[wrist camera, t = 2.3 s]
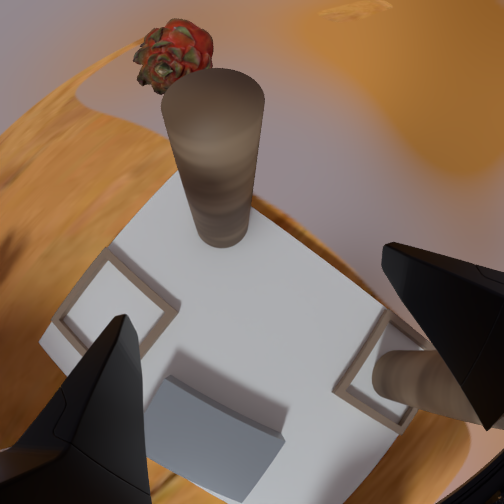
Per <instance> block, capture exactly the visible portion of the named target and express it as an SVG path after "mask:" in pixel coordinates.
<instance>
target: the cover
mask: <svg viewBox="0 0 504 504" xmlns="http://www.w3.org/2000/svg"><path fill="white" fill-rule="evenodd" d="M144 431H145V446H146V457H148V458H150V459H151V460H153V461H155V462H156V463H158V464H160V465H162V466H163V467H165V468H167V469H169V470H170V471H172V472H174V473H176V474H178V475H180V476H182V477H184V478H186V479H188V480H190V481H192V482H194V483H196V484H198V485H200V486H202V487H204V488H206V489H209V490H211V491H213V492H215V493H218V494H220V495H222V496H225V497H227V498H230V499H232V500H235V501H237V502H240V503H242V502H243V501H244V500H245V499H246V497H247V496H248V495H249V493H250V492H251V491H252V489H253V488H254V487H255V485H256V484H257V483H258V481H259V480H260V479H261V477H262V476H263V474H264V473H265V472H266V470H267V469H268V467H269V466H270V464H271V463H272V462H273V460H274V459H275V457H276V456H277V454H278V453H279V451H280V450H281V448H282V447H283V445H284V444H285V442H286V441H285V439H284V437H283V436H282V434H281V433H280V432H278V431H275V430H273V429H271V428H269V427H267V426H264V425H262V424H260V423H258V422H256V421H254V420H252V419H250V418H248V417H246V416H243V415H241V414H239V413H238V412H236V411H234V410H232V409H230V408H228V407H226V406H224V405H222V404H220V403H218V402H217V401H215V400H213V399H211V398H209V397H207V396H206V395H204V394H202V393H200V392H199V391H197V390H195V389H193V388H192V387H190V386H188V385H187V384H185V383H183V382H182V381H180V380H178V379H177V378H175V377H174V376H172V375H170V376H168V377H166V378H164V380H163V382H162V384H161V385H160V387H159V389H158V390H157V392H156V394H155V396H154V397H153V399H152V401H151V403H150V404H149V406H148V408H147V409H146V411H145V413H144Z"/></svg>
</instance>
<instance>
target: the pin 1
mask: <svg viewBox="0 0 504 504" xmlns="http://www.w3.org/2000/svg"><path fill="white" fill-rule="evenodd" d="M264 103H265V98H264V93H263V91H262V89H261V87H260V86H259V84H258V83H257V82H256V81H255V80H254V79H252V78H251V77H249V76H248V75H246V74H244V73H241V72H238V71H235V70H231V69H223V68H210V69H203V70H198V71H195V72H192V73H189V74H187V75H185V76H183V77H181V78H180V79H178V80H177V81H175V82H174V83H173V84H172V85H171V86H170V87H169V88H168V89H167V91H166V92H165V94H164V96H163V99H162V102H161V111H162V115H163V118H164V122H165V126H166V129H167V133H168V137H169V140H170V144H171V147H172V151H173V154H174V158H175V161H176V165H177V168H178V171H179V175H180V178H181V181H182V185H183V188H184V191H185V195H186V198H187V201H188V204H189V207H190V211H191V214H192V217H193V220H194V223H195V226H196V230H197V233H198V235H199V236H200V238H201V239H202V240H203V241H204V242H205V243H206V244H208V245H210V246H212V247H215V248H229V247H232V246H234V245H236V244H237V243H239V242H240V241H241V240H242V239H243V238H244V236H245V235H246V233H247V230H248V224H249V216H250V209H251V201H252V193H253V186H254V178H255V170H256V162H257V155H258V147H259V140H260V133H261V126H262V118H263V111H264Z"/></svg>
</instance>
